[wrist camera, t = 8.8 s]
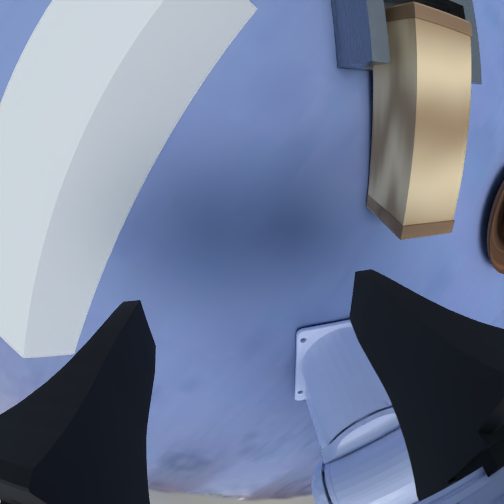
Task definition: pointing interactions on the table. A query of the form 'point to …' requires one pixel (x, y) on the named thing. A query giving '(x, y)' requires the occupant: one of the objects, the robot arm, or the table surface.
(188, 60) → the crown molding
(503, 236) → the cup and saucer
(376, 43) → the bracket
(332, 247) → the table surface
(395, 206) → the tan rectangular block
